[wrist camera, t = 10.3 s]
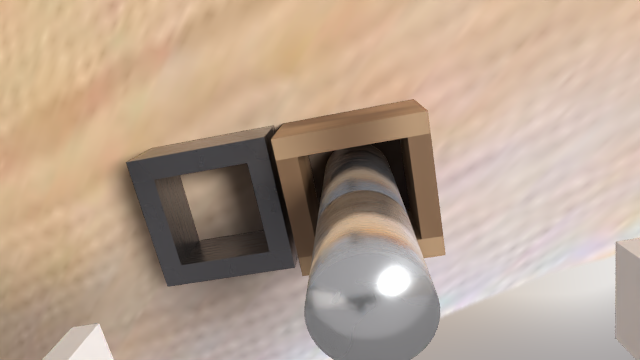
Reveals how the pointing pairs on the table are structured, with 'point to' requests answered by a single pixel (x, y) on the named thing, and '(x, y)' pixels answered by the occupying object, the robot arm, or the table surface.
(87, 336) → the robot arm
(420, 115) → the open square brown box
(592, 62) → the table surface
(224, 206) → the table surface
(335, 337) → the dome-ended metal rod
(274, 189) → the socket
